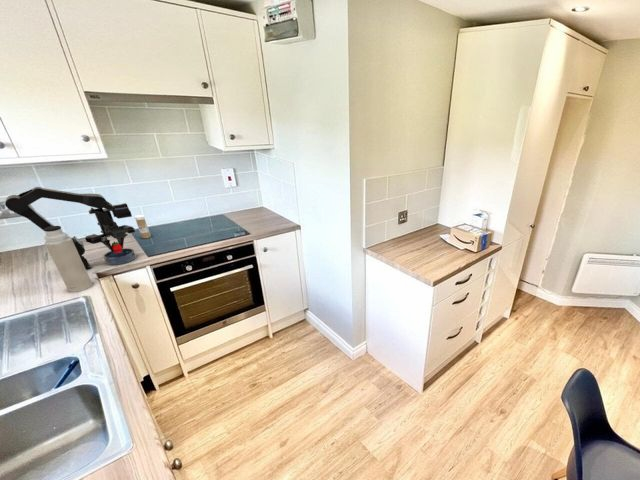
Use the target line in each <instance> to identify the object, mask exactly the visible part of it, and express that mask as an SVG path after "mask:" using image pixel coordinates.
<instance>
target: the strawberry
mask: <svg viewBox="0 0 640 480" xmlns="http://www.w3.org/2000/svg"><path fill="white" fill-rule="evenodd" d="M111 246H112V248H113V251H114V253H120V252H122V249H123V248H122V246H121V245H120V244H119V243H118V241H117V242H116V241H113V242H112V243H111Z"/></svg>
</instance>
